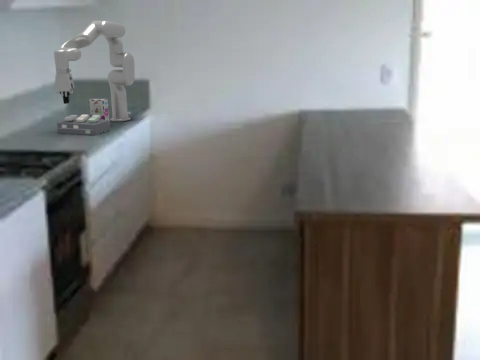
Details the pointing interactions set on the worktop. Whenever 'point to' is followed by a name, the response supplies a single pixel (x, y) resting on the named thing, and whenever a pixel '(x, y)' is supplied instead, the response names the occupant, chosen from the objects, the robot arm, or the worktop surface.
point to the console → (83, 127)
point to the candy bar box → (99, 108)
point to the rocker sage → (94, 118)
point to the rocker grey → (71, 117)
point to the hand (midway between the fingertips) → (66, 103)
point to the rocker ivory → (82, 118)
